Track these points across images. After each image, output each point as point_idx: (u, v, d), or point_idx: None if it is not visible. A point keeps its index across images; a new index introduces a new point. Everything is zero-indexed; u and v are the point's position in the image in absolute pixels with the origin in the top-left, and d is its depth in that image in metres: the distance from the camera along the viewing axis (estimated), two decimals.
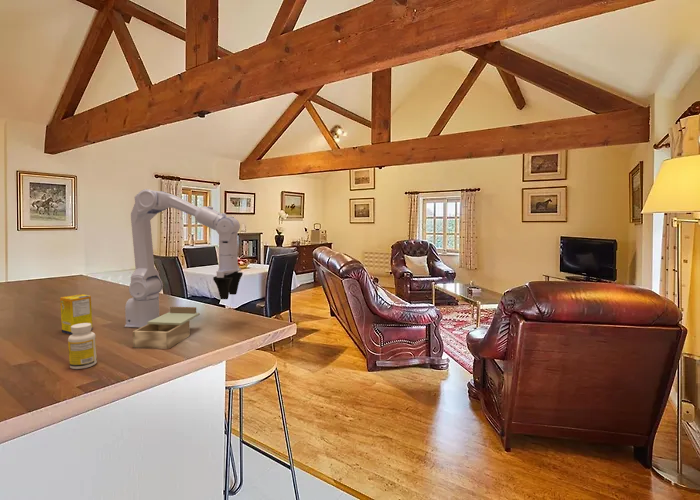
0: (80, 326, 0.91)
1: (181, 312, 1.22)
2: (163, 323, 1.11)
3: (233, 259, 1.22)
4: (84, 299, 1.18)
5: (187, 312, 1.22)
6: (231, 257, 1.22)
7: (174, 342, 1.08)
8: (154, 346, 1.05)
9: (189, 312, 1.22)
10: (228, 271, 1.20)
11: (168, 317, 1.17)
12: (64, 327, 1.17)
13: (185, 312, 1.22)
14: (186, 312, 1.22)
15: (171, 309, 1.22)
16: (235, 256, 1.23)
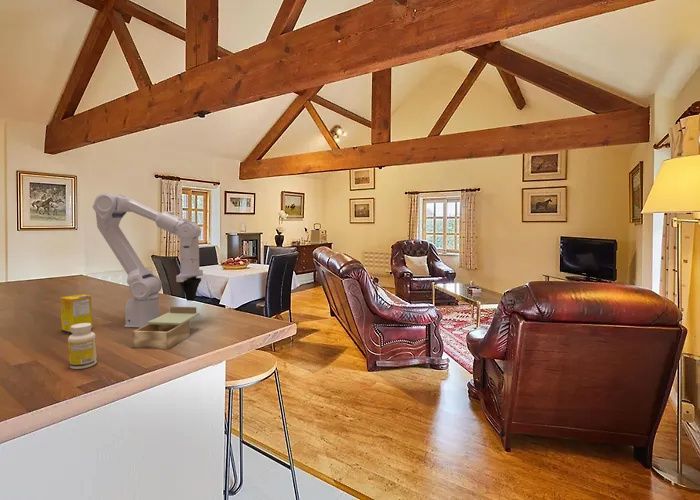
0: (80, 326, 0.91)
1: (181, 312, 1.22)
2: (163, 323, 1.11)
3: (193, 264, 1.25)
4: (84, 299, 1.18)
5: (187, 312, 1.22)
6: (192, 262, 1.24)
7: (174, 342, 1.08)
8: (154, 346, 1.05)
9: (189, 312, 1.22)
10: (188, 275, 1.22)
11: (168, 317, 1.17)
12: (64, 327, 1.17)
13: (185, 312, 1.22)
14: (186, 312, 1.22)
15: (171, 309, 1.22)
16: (196, 260, 1.26)
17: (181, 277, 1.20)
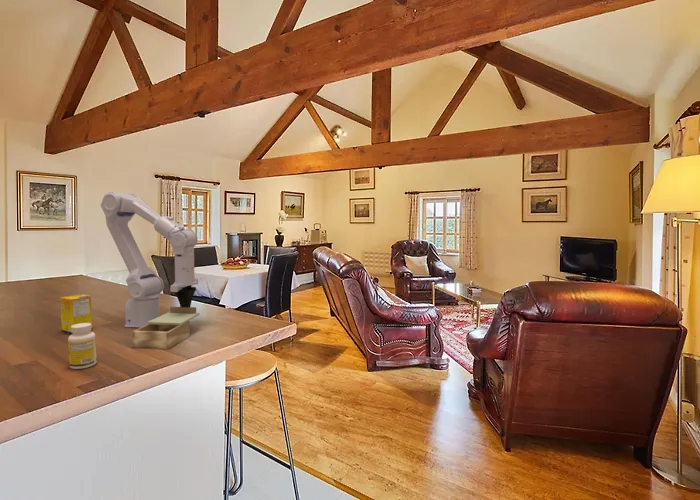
0: (80, 326, 0.91)
1: (181, 312, 1.22)
2: (163, 323, 1.11)
3: (188, 273, 1.21)
4: (84, 299, 1.18)
5: (187, 312, 1.22)
6: (187, 271, 1.21)
7: (174, 342, 1.08)
8: (154, 346, 1.05)
9: (189, 312, 1.22)
10: (183, 285, 1.19)
11: (168, 317, 1.17)
12: (64, 327, 1.17)
13: (185, 312, 1.22)
14: (186, 312, 1.22)
15: (171, 309, 1.22)
16: (191, 269, 1.22)
17: (175, 287, 1.16)
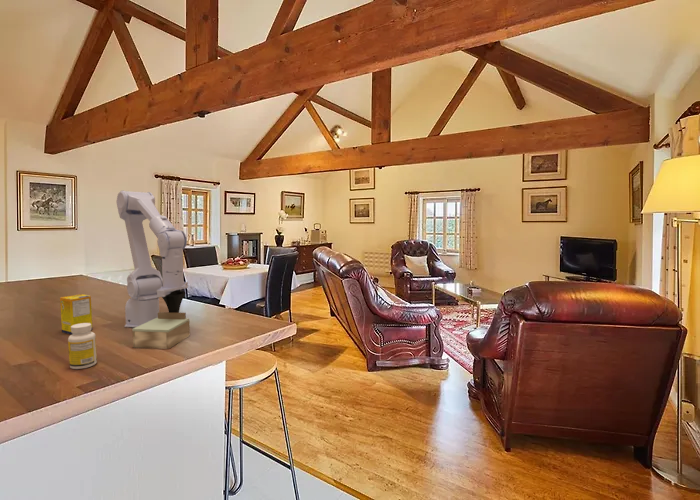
0: (80, 326, 0.91)
1: (169, 318, 1.15)
2: (149, 330, 1.04)
3: (177, 277, 1.14)
4: (83, 299, 1.18)
5: (176, 318, 1.15)
6: (175, 274, 1.14)
7: (174, 342, 1.08)
8: (154, 346, 1.05)
9: (178, 318, 1.15)
10: (171, 289, 1.12)
11: (155, 323, 1.10)
12: (64, 327, 1.17)
13: (174, 318, 1.15)
14: (175, 318, 1.15)
15: (159, 315, 1.15)
16: (180, 273, 1.15)
17: (162, 291, 1.09)
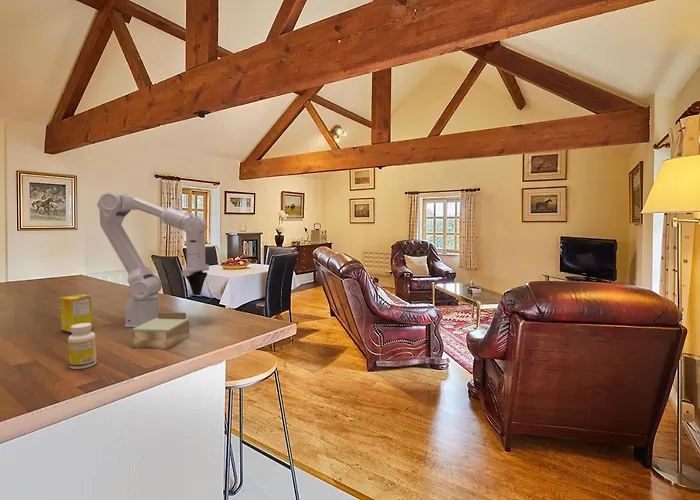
0: (80, 326, 0.91)
1: (169, 318, 1.15)
2: (149, 330, 1.05)
3: (199, 258, 1.25)
4: (83, 299, 1.18)
5: (176, 318, 1.15)
6: (198, 256, 1.25)
7: (174, 342, 1.08)
8: (154, 346, 1.05)
9: (178, 318, 1.15)
10: (194, 270, 1.23)
11: (155, 323, 1.10)
12: (64, 327, 1.17)
13: (174, 318, 1.15)
14: (175, 318, 1.15)
15: (159, 314, 1.15)
16: (202, 255, 1.26)
17: (187, 271, 1.20)
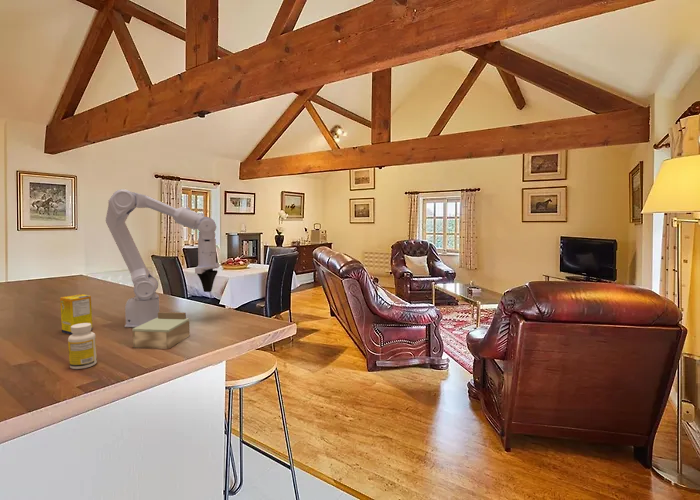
0: (80, 326, 0.91)
1: (169, 318, 1.15)
2: (149, 330, 1.05)
3: (211, 257, 1.31)
4: (84, 299, 1.18)
5: (176, 318, 1.15)
6: (209, 254, 1.31)
7: (174, 342, 1.08)
8: (154, 346, 1.05)
9: (178, 318, 1.15)
10: (206, 267, 1.29)
11: (155, 323, 1.10)
12: (64, 327, 1.17)
13: (174, 318, 1.15)
14: (175, 318, 1.15)
15: (159, 314, 1.15)
16: (213, 253, 1.32)
17: (200, 269, 1.26)
